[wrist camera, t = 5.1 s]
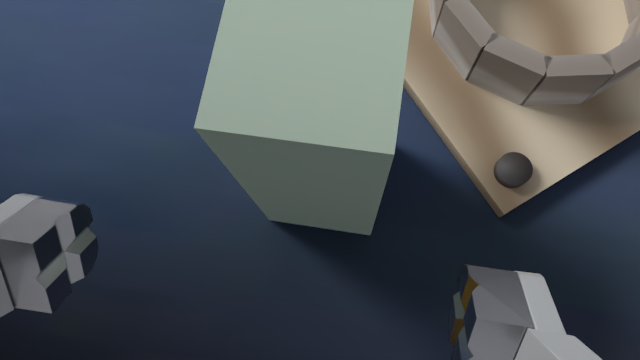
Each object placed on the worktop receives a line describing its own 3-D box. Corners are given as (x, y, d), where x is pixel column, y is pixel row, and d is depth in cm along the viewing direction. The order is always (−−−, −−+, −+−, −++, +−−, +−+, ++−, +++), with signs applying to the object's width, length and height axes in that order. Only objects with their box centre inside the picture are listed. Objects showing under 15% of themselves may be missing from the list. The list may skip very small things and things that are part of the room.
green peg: (370, 235, 23) (394, 154, 11) (269, 220, 23) (193, 127, 12) (383, 139, 24) (416, -21, 13) (287, 126, 25) (235, -39, 13)
